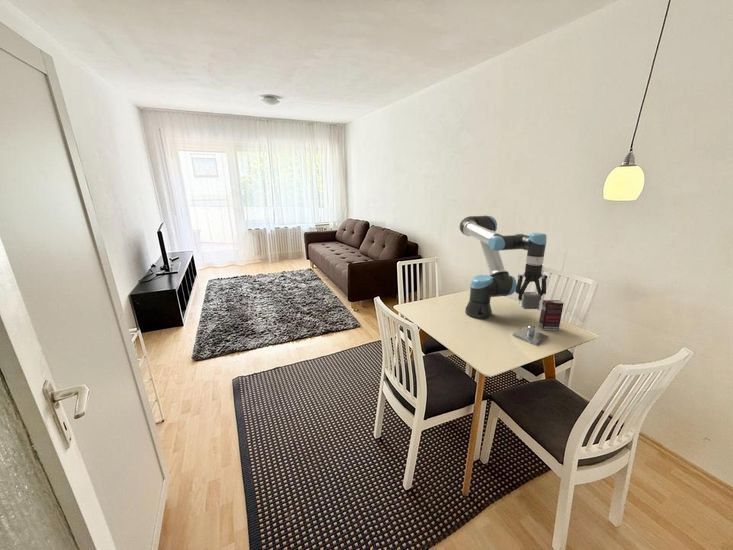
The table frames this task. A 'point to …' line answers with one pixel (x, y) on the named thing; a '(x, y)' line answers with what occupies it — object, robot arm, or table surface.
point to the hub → (530, 335)
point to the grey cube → (531, 300)
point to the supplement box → (551, 314)
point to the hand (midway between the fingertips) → (528, 306)
